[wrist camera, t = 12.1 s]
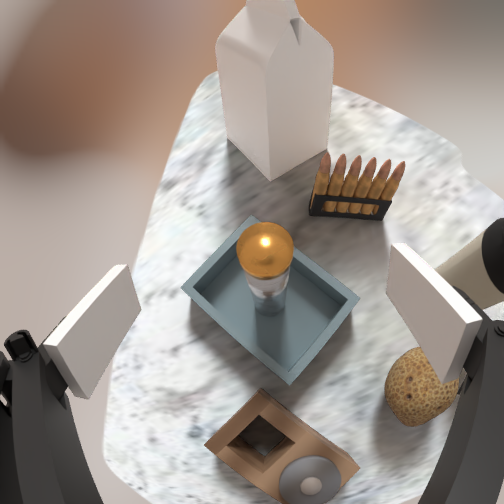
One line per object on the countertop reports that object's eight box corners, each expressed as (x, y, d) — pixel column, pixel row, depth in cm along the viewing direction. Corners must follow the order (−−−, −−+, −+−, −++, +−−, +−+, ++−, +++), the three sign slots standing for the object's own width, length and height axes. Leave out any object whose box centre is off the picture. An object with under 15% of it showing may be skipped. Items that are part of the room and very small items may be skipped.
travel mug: (418, 275, 34) (496, 210, 17) (456, 259, 34) (531, 197, 18) (436, 329, 31) (530, 294, 14) (474, 309, 31) (561, 266, 14)
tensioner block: (347, 452, 26) (365, 474, 19) (301, 496, 24) (307, 525, 17) (260, 387, 31) (256, 394, 23) (215, 432, 29) (198, 450, 21)
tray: (350, 305, 33) (360, 298, 29) (287, 382, 31) (289, 385, 27) (253, 230, 38) (251, 214, 34) (191, 296, 36) (180, 287, 32)
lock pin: (292, 299, 34) (305, 244, 19) (271, 323, 33) (267, 286, 18) (268, 280, 35) (262, 212, 20) (247, 303, 34) (224, 250, 19)
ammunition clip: (309, 215, 39) (319, 158, 28) (309, 204, 39) (318, 145, 28) (382, 220, 37) (413, 169, 26) (380, 209, 38) (409, 156, 27)
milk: (227, 137, 45) (196, -5, 22) (281, 110, 47) (276, -22, 23) (270, 181, 41) (258, 10, 17) (327, 148, 43) (347, -2, 19)
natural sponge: (415, 335, 31) (456, 322, 22) (441, 388, 28) (486, 390, 19) (358, 375, 30) (389, 377, 21) (388, 430, 27) (424, 448, 18)
